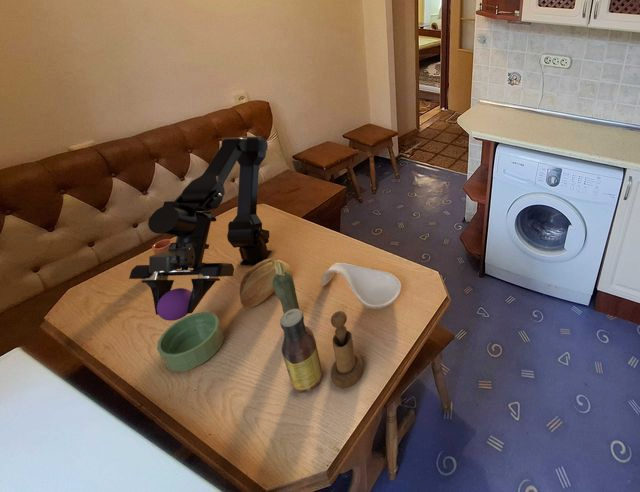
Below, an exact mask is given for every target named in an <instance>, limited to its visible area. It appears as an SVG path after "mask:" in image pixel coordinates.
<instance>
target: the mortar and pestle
mask: <svg viewBox="0 0 640 492" xmlns="http://www.w3.org/2000/svg"><path fill="white" fill-rule="evenodd" d="M347 317H348V316H347V313H345V311H343V310H338V311H335V312H333V314H332V315H331V317H330V324H331V326H332V327H333V328H335V329H334V335H333V336H332V346H333V347H332V348H333V353H334V358H335V359H334V362H333V363H332V366H331V369H330V374H331V380H332V383H333V385H334V386H335V387H336V388H340V389H348V388H350V387H352V386H354V385H355V384H357V383H358V382H359V380H360V379H361V378H362V375H363V373H364V364H363V359H362V357H361V355H360V354H358V353H356V352H355V347H354V339H353V335H352V333H351V331H350V330H347V329H348V328H347V326H346V323H347V319H348V318H347Z"/></svg>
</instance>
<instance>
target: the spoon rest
mask: <svg viewBox="0 0 640 492" xmlns="http://www.w3.org/2000/svg"><path fill="white" fill-rule="evenodd" d="M335 273H337V274H339V275H341V276H342V277H343V278H344V279H345V280H346V282H347V284H348V286H349V288H350V290H351V291H352V293H353V295H354V296H355V298H356V299H357V300H358V302H359V303H360V304H361V305H362V306H363V307H366V308H368V309H370V310H371V309H372V310H381V309H384V308H387V307H389V306H391V305H392V304H393V303H394V302H395V301H396V300H397V299H398V298H399V296H400V295H401V292H402V283H401V281H400V279H399V278H398V277H397V276H396V275H394V274H392V273H390V272H387V271H384V270H379V269H375V268H369V267H364V266H359V265H355V264H350V263H346V262H336V263H333V264H332V265H331V266H330V268H329V269H327V270H325V272H324V273H323V274H322V277H321V282H320V283H321V287H322V286H325V285H326V286H327V284H329V282H330V281H331V280H333V278H334V277H335Z"/></svg>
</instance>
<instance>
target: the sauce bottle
mask: <svg viewBox="0 0 640 492" xmlns="http://www.w3.org/2000/svg"><path fill="white" fill-rule="evenodd" d="M279 323H280V327H281V329H282V330H283V336H284V337H283V341H282V344H281V355H282V358H283V361H284V363H285V367H286V370H287V374H288V377H289V381H290V383H291V386H292V387H293V389H294V390H295V391H296V392H299V393H300V394H301V393H302V394H305V393H308V392H310V391H313V390H314V389H316V388H317V387H318V386H319V384H320V382H321V381H322V378H323V374H324V373H323V365H322V361H321V357H320V352H319V348H318V343H317V340H316V337H315V334H314V332H313V330H312V329H311V328H309V327H308V326H306V324H305V317H304V312H303V311H302V310H301V309H300V308H299V309H291V310H289V311H287V312H286V313H285V314H284V313H283V315H281V317H280V320H279Z"/></svg>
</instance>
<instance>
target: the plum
mask: <svg viewBox="0 0 640 492" xmlns="http://www.w3.org/2000/svg"><path fill="white" fill-rule="evenodd" d="M191 293H192V290H189V289H188V288H183V287H178V288H174V289H171V290H170V291H169V292H167V293H166V294H164V295H163V296H162V297H161V299H160V300H159V302H158V304H157V313H158V315H157V316H158V317H160V318H161V319H162V320H164V321H168V322H169V321H179V320H181V319H183V318H184V317H187V316H188V315H189V314H188V313H187V312H188V306H189V301H190V297H191Z"/></svg>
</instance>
